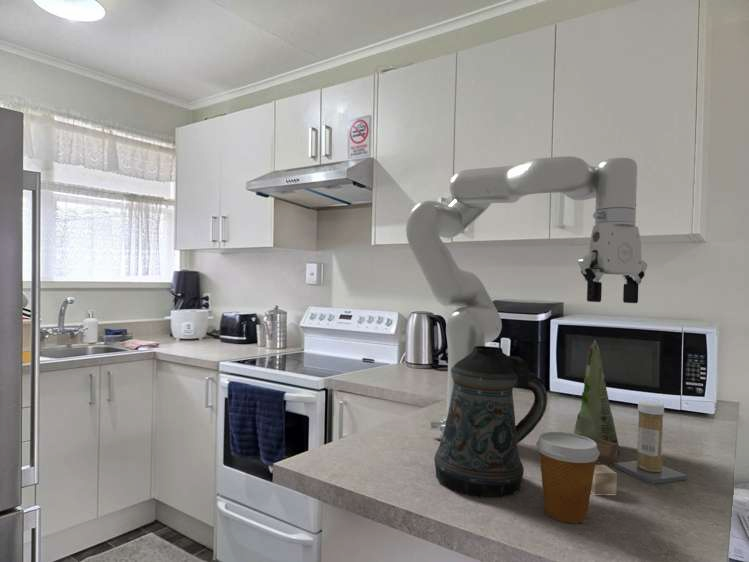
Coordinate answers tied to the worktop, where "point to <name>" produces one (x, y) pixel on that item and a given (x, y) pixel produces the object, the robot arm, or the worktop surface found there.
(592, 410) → the miniature christmas tree
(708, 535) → the worktop surface
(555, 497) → the disposable coffee cup
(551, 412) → the worktop surface
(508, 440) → the beer stein
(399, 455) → the worktop surface
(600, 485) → the beech block
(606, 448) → the walnut block
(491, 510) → the worktop surface
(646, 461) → the sprinkles bottle
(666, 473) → the slate coaster
